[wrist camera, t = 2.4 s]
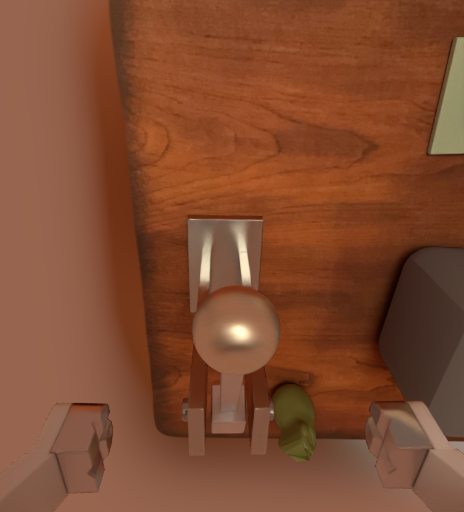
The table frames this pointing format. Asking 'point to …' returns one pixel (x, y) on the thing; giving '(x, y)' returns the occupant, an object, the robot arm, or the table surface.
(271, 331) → the lever
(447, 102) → the button box
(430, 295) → the alarm clock
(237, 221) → the bracket
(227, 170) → the table surface
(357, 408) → the table surface
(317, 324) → the table surface
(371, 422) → the robot arm
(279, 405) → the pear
